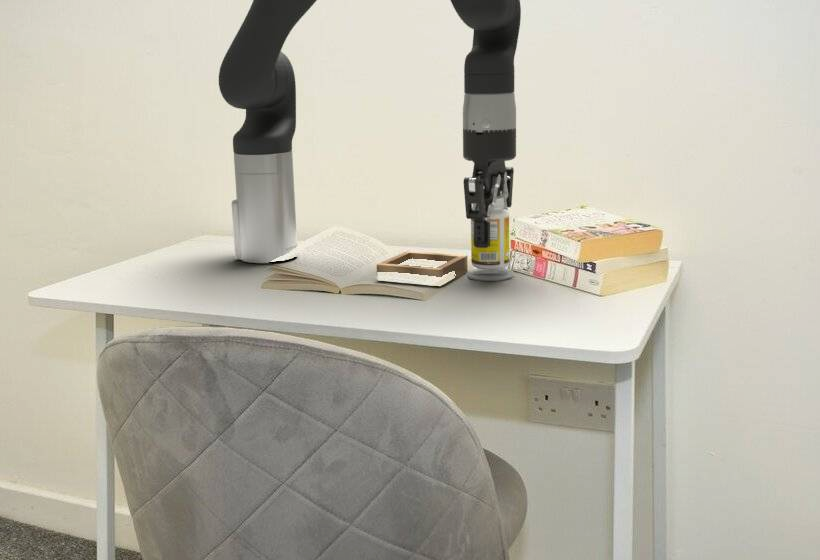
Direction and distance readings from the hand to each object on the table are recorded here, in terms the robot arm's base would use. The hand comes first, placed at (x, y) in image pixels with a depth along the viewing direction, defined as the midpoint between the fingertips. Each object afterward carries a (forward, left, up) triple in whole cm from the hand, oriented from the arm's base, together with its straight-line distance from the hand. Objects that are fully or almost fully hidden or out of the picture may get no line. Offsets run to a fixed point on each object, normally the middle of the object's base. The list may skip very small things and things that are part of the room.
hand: (489, 242), depth 139 cm
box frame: (-9, -4, -5) cm, 11 cm away
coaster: (0, 0, -5) cm, 5 cm away
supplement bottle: (0, 0, -4) cm, 4 cm away
